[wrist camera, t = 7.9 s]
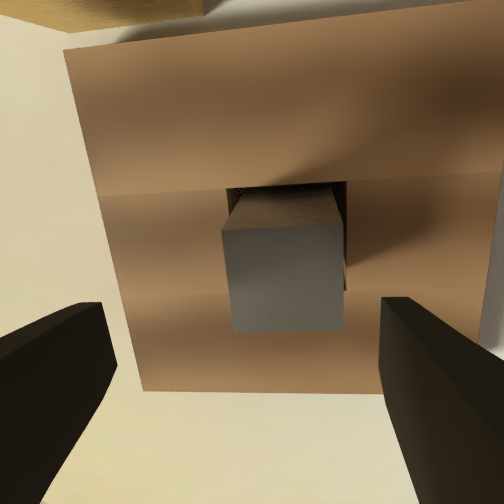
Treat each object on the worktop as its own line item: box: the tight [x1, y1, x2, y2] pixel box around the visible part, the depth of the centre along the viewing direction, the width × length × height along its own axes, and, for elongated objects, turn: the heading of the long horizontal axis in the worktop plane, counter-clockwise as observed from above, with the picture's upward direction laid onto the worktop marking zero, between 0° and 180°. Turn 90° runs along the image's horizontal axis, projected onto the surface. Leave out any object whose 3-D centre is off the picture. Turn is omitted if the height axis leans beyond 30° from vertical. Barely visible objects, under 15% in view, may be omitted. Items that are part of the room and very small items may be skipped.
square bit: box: [221, 182, 344, 332], centre depth 15 cm, size 4×4×7 cm
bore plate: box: [63, 0, 504, 394], centre depth 17 cm, size 16×16×2 cm
